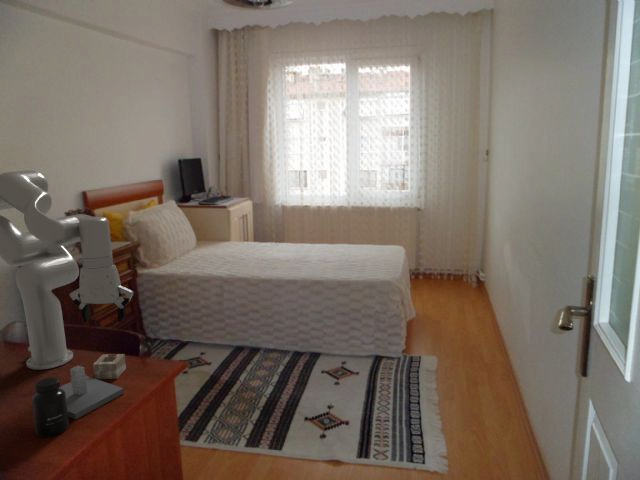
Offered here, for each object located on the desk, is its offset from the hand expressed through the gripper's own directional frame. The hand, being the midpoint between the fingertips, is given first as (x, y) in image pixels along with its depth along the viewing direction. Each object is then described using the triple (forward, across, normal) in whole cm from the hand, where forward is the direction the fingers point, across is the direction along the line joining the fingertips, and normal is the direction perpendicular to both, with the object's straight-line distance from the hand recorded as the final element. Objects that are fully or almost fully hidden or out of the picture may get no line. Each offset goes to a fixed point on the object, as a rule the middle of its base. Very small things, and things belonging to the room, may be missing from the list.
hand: (104, 320), depth 138 cm
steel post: (+15, -2, -14) cm, 20 cm away
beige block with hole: (+16, 0, 0) cm, 16 cm away
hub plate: (+16, -2, -14) cm, 21 cm away
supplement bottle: (+16, -2, -28) cm, 32 cm away
